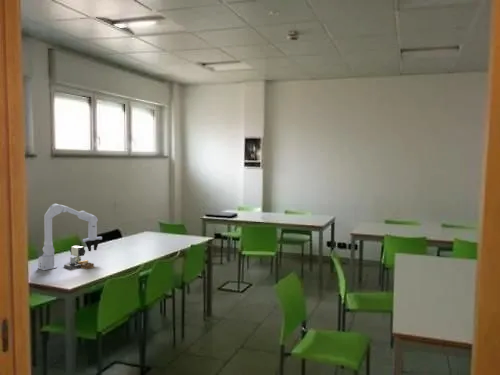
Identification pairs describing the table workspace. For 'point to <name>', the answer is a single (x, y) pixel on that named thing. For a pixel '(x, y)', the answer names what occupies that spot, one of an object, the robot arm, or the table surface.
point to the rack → (87, 265)
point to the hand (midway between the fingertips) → (92, 250)
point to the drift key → (83, 262)
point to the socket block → (72, 266)
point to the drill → (72, 261)
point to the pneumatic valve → (77, 252)
